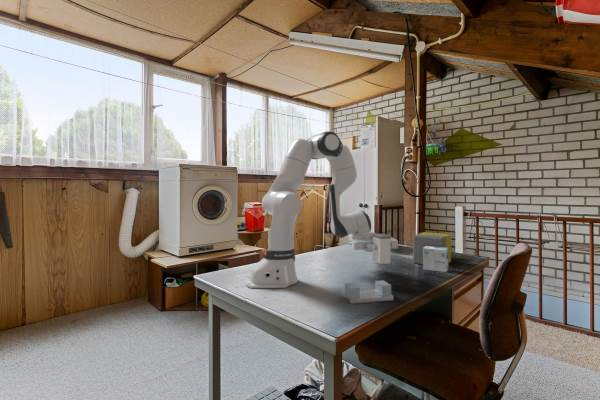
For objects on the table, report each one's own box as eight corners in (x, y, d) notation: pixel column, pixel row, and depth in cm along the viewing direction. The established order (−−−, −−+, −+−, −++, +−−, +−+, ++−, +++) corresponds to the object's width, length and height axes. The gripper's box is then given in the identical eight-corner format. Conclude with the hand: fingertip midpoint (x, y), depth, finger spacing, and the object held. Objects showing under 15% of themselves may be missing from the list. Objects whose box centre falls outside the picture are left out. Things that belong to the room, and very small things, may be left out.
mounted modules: (350, 298, 109) (350, 288, 109) (344, 292, 115) (344, 283, 114) (391, 294, 112) (391, 285, 112) (383, 289, 118) (383, 280, 117)
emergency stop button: (455, 259, 172) (456, 232, 171) (442, 268, 154) (442, 238, 153) (428, 255, 182) (428, 230, 181) (412, 263, 163) (412, 235, 163)
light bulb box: (448, 269, 151) (448, 247, 151) (446, 272, 145) (446, 249, 145) (425, 266, 157) (425, 245, 156) (422, 269, 151) (422, 247, 151)
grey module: (379, 263, 124) (380, 236, 123) (372, 259, 131) (372, 233, 130) (390, 263, 125) (390, 236, 124) (382, 259, 132) (382, 233, 131)
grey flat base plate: (351, 303, 107) (351, 299, 107) (342, 295, 116) (342, 291, 116) (393, 300, 111) (393, 295, 111) (382, 292, 119) (382, 288, 119)
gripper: (346, 235, 138) (358, 240, 125) (389, 234, 142) (405, 239, 129) (346, 249, 138) (358, 255, 125) (388, 247, 142) (404, 254, 129)
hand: (382, 247), depth 127 cm, fingers closed on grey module, 4 cm apart
